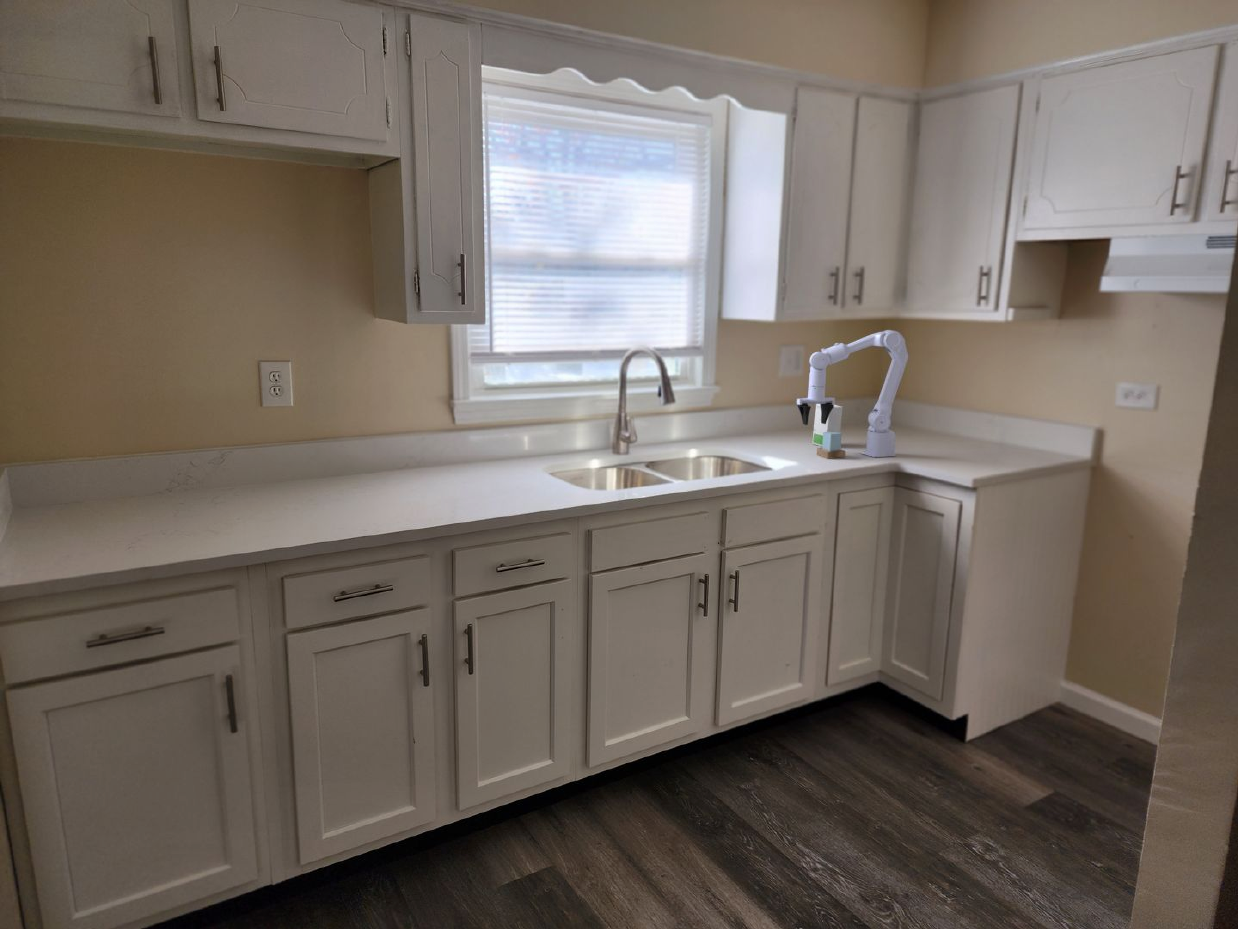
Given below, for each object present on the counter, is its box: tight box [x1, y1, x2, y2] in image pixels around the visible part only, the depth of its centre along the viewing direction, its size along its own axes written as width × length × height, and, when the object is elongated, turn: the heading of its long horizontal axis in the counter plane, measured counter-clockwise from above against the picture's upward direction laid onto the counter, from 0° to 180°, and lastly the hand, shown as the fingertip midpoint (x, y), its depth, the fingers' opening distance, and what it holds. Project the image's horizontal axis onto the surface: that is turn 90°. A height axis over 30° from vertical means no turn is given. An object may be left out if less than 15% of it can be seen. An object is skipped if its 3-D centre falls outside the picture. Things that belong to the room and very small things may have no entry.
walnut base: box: [816, 447, 846, 460], centre depth 287 cm, size 7×7×3 cm
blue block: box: [821, 431, 843, 451], centre depth 286 cm, size 4×4×6 cm
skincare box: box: [812, 404, 844, 448], centre depth 306 cm, size 8×7×16 cm
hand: (814, 424), depth 291 cm, fingers open, 7 cm apart
